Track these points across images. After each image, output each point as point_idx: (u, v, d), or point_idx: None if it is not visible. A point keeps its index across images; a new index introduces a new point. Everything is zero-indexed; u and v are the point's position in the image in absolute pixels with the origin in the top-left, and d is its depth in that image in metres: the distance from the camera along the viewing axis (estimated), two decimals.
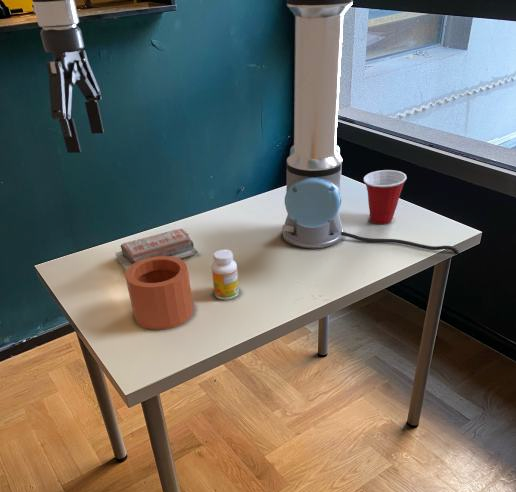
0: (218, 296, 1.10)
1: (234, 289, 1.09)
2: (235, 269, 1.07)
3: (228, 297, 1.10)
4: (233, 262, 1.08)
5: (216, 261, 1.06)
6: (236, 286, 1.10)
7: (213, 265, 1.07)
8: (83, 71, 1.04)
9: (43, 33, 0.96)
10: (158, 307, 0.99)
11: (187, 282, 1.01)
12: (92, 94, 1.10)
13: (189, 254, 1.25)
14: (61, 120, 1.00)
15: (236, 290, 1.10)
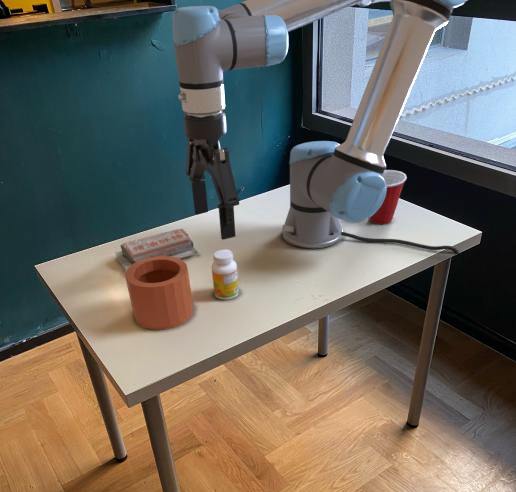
0: (218, 296, 1.10)
1: (234, 289, 1.09)
2: (235, 269, 1.07)
3: (228, 297, 1.10)
4: (233, 262, 1.08)
5: (216, 261, 1.06)
6: (236, 286, 1.10)
7: (213, 265, 1.07)
8: None
9: (200, 121, 0.87)
10: (158, 307, 0.99)
11: (187, 282, 1.01)
12: (202, 174, 1.03)
13: (189, 254, 1.25)
14: (228, 207, 0.93)
15: (236, 290, 1.10)
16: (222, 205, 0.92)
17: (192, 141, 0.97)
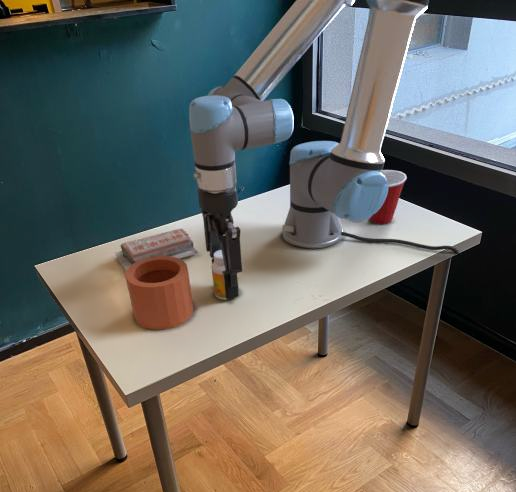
0: (218, 296, 1.10)
1: None
2: None
3: None
4: None
5: (216, 261, 1.06)
6: None
7: (213, 265, 1.07)
8: None
9: (214, 197, 0.95)
10: (158, 307, 0.99)
11: (187, 282, 1.01)
12: (221, 248, 1.09)
13: (189, 254, 1.25)
14: (232, 273, 1.04)
15: None
16: (227, 273, 1.04)
17: (206, 213, 1.05)
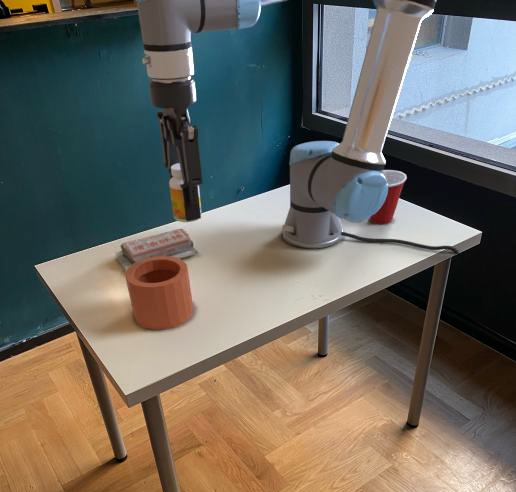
0: (177, 218, 0.96)
1: None
2: None
3: None
4: None
5: (173, 174, 0.92)
6: None
7: (171, 180, 0.93)
8: None
9: (167, 87, 0.81)
10: (158, 307, 0.99)
11: (187, 282, 1.01)
12: None
13: (189, 254, 1.25)
14: (191, 187, 0.90)
15: None
16: (185, 186, 0.90)
17: None
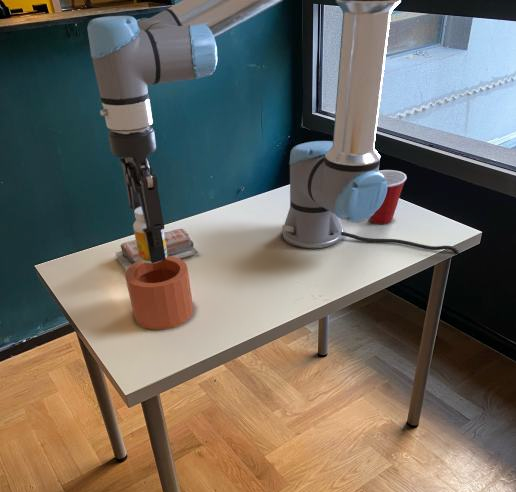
0: (142, 259, 0.97)
1: None
2: None
3: None
4: None
5: (137, 218, 0.93)
6: None
7: (134, 223, 0.94)
8: None
9: (125, 138, 0.82)
10: (158, 307, 0.99)
11: (187, 282, 1.01)
12: None
13: (189, 254, 1.25)
14: (154, 231, 0.91)
15: None
16: (147, 230, 0.91)
17: None
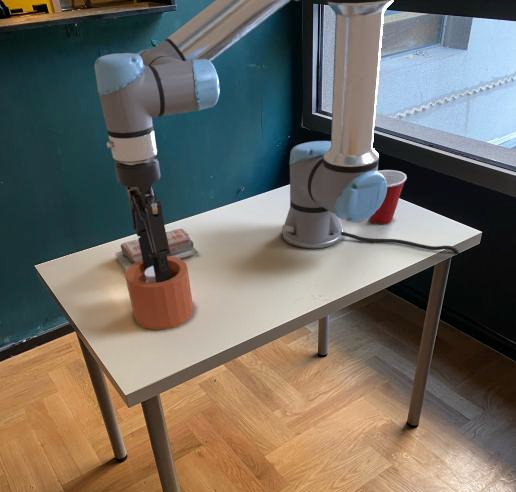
0: None
1: None
2: None
3: None
4: None
5: (146, 279, 1.00)
6: None
7: (145, 282, 1.01)
8: None
9: (130, 169, 0.85)
10: (158, 307, 0.99)
11: (187, 282, 1.01)
12: None
13: (189, 254, 1.25)
14: (160, 257, 0.94)
15: None
16: (153, 255, 0.93)
17: (130, 189, 0.95)
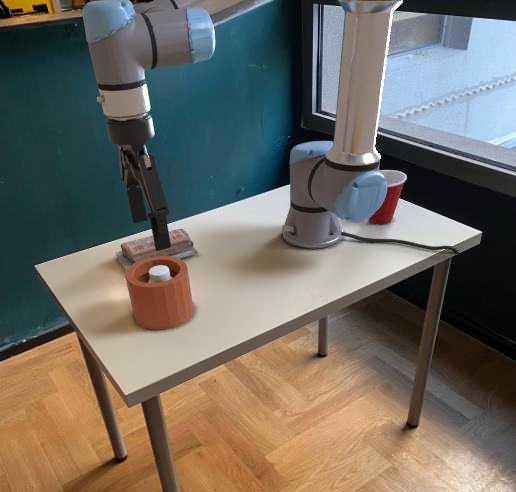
0: None
1: None
2: None
3: None
4: None
5: (150, 277, 1.00)
6: None
7: (149, 281, 1.02)
8: None
9: (122, 125, 0.81)
10: (158, 307, 0.99)
11: (187, 282, 1.01)
12: (137, 180, 0.96)
13: (189, 254, 1.25)
14: (158, 217, 0.86)
15: None
16: (151, 215, 0.86)
17: (122, 146, 0.91)
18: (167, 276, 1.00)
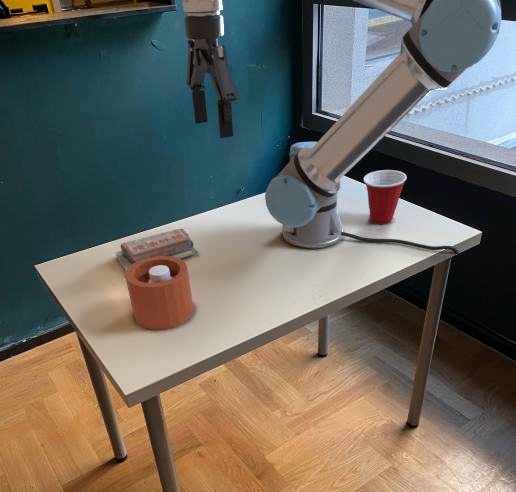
0: None
1: None
2: None
3: None
4: None
5: (150, 277, 1.00)
6: None
7: (149, 281, 1.02)
8: None
9: (200, 19, 0.96)
10: (158, 307, 0.99)
11: (187, 282, 1.01)
12: (202, 82, 1.11)
13: (189, 254, 1.25)
14: (226, 104, 1.01)
15: None
16: (221, 101, 1.01)
17: (192, 47, 1.06)
18: (167, 276, 1.00)
